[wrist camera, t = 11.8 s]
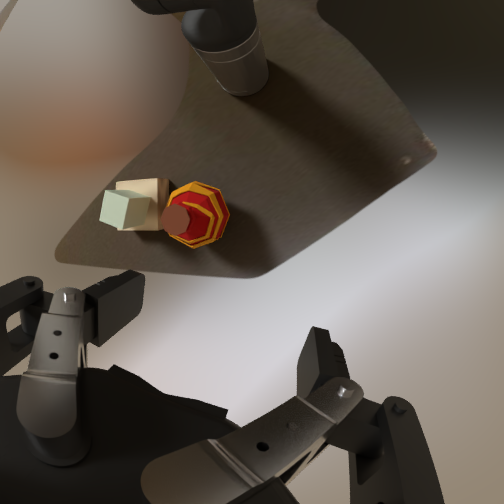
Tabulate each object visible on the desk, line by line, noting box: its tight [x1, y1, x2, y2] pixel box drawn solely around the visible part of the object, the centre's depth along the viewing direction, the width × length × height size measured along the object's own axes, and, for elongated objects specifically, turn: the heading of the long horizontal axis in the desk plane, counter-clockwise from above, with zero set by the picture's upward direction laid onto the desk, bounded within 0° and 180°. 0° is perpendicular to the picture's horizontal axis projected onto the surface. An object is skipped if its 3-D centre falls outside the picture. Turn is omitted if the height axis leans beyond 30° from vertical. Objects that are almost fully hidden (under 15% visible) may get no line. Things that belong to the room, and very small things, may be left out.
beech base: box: [116, 178, 169, 230], centre depth 47 cm, size 9×9×5 cm
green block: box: [100, 190, 151, 230], centre depth 41 cm, size 5×5×7 cm
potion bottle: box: [160, 181, 230, 249], centre depth 41 cm, size 10×10×15 cm
